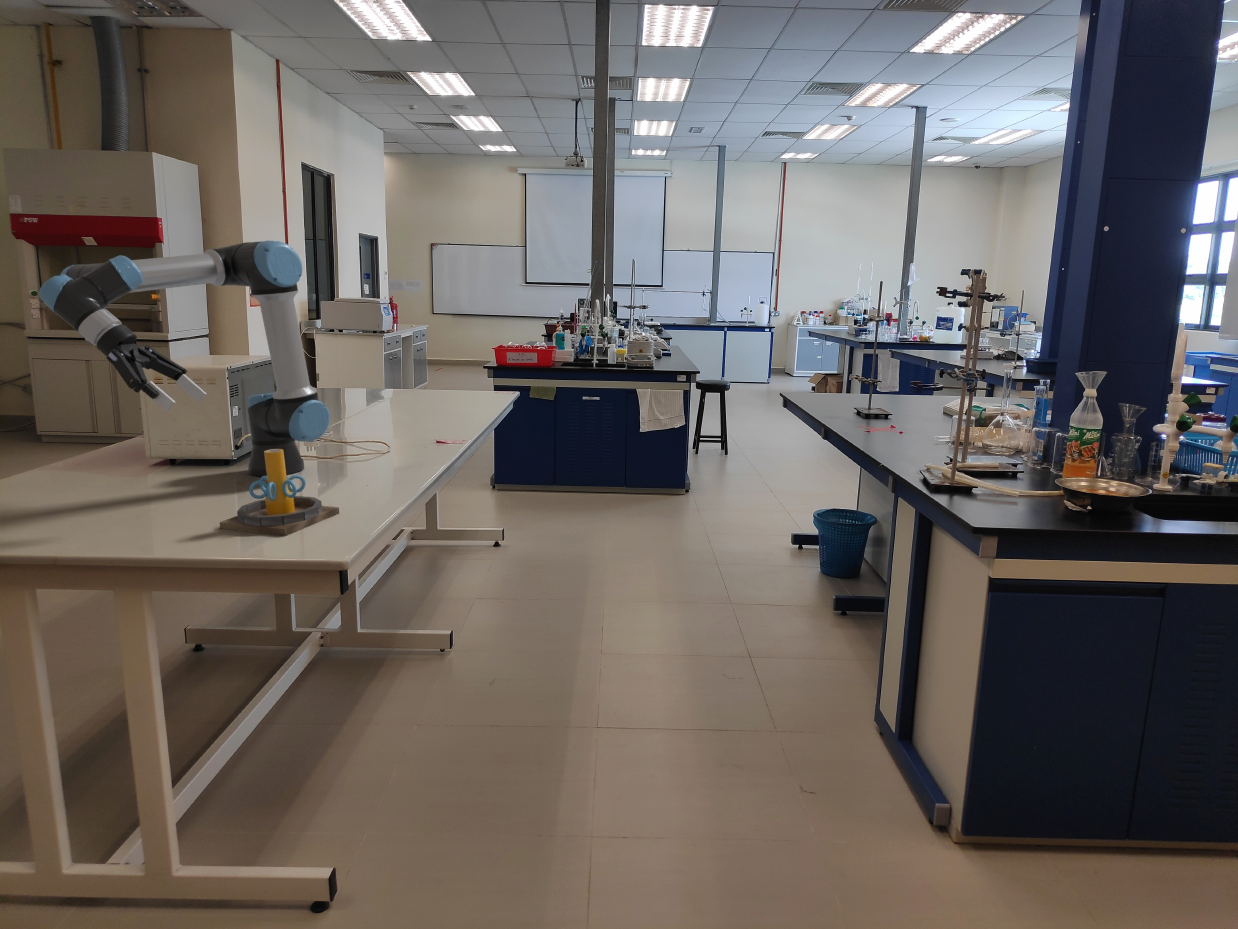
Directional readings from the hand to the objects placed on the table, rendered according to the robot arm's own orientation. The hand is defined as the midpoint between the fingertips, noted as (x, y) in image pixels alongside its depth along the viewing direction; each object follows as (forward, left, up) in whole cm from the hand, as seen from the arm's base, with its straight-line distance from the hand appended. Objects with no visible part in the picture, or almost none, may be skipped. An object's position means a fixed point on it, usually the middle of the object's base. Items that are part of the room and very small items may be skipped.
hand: (187, 402), depth 176 cm
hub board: (-5, +18, -28) cm, 33 cm away
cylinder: (-5, +18, -26) cm, 32 cm away
